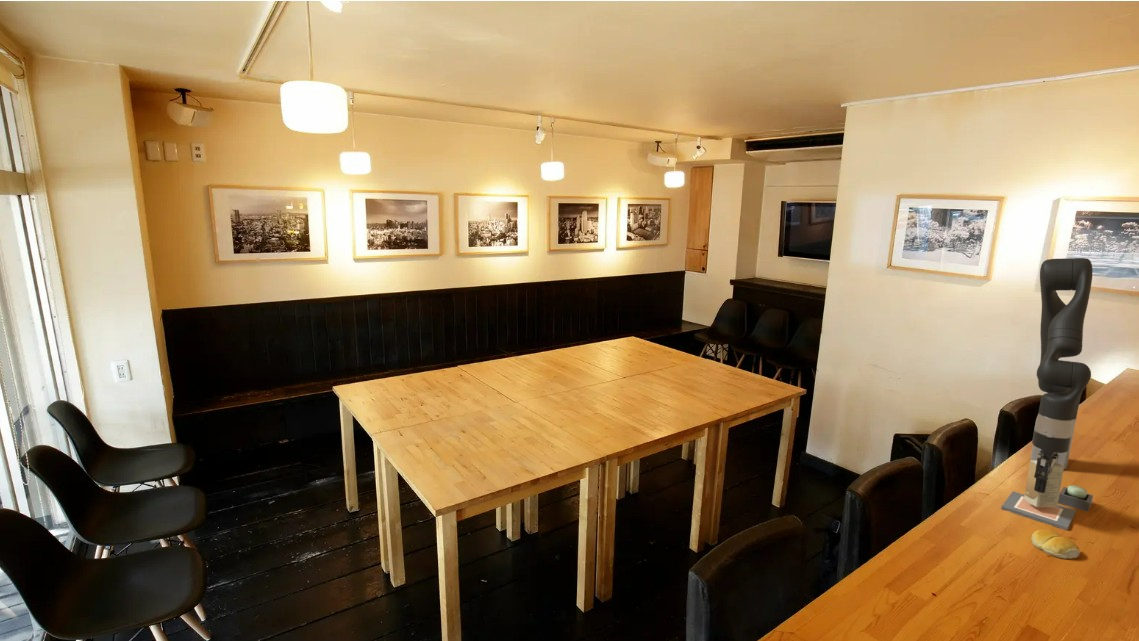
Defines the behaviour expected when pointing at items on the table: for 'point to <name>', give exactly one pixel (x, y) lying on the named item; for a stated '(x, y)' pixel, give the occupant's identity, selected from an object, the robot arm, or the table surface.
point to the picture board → (1039, 511)
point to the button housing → (1075, 500)
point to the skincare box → (1052, 486)
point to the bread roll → (1055, 544)
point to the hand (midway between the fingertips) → (1042, 486)
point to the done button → (1077, 491)
